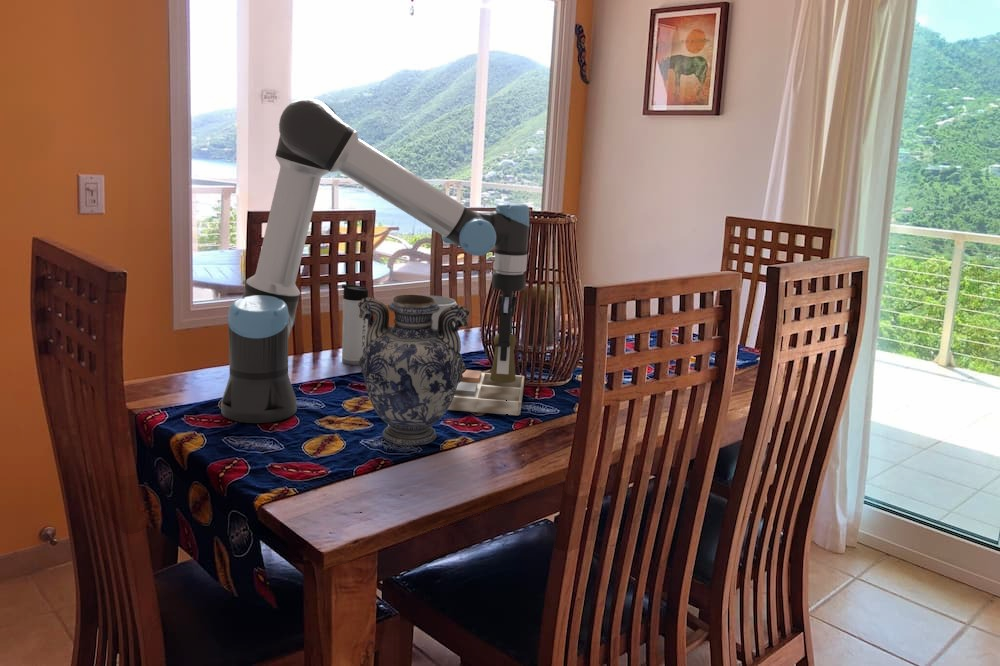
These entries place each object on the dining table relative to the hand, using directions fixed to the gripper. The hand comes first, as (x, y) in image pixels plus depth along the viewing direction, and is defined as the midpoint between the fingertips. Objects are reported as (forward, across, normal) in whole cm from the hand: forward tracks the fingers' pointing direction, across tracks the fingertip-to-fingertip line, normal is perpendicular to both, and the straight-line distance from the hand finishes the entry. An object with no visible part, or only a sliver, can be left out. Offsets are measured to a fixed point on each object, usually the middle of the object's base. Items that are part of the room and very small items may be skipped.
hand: (503, 369), depth 194 cm
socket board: (+6, +5, -3) cm, 8 cm away
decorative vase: (+6, +32, -16) cm, 37 cm away
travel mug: (+6, -16, -39) cm, 42 cm away
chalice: (+6, -28, -21) cm, 36 cm away
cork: (+2, 0, 0) cm, 2 cm away
